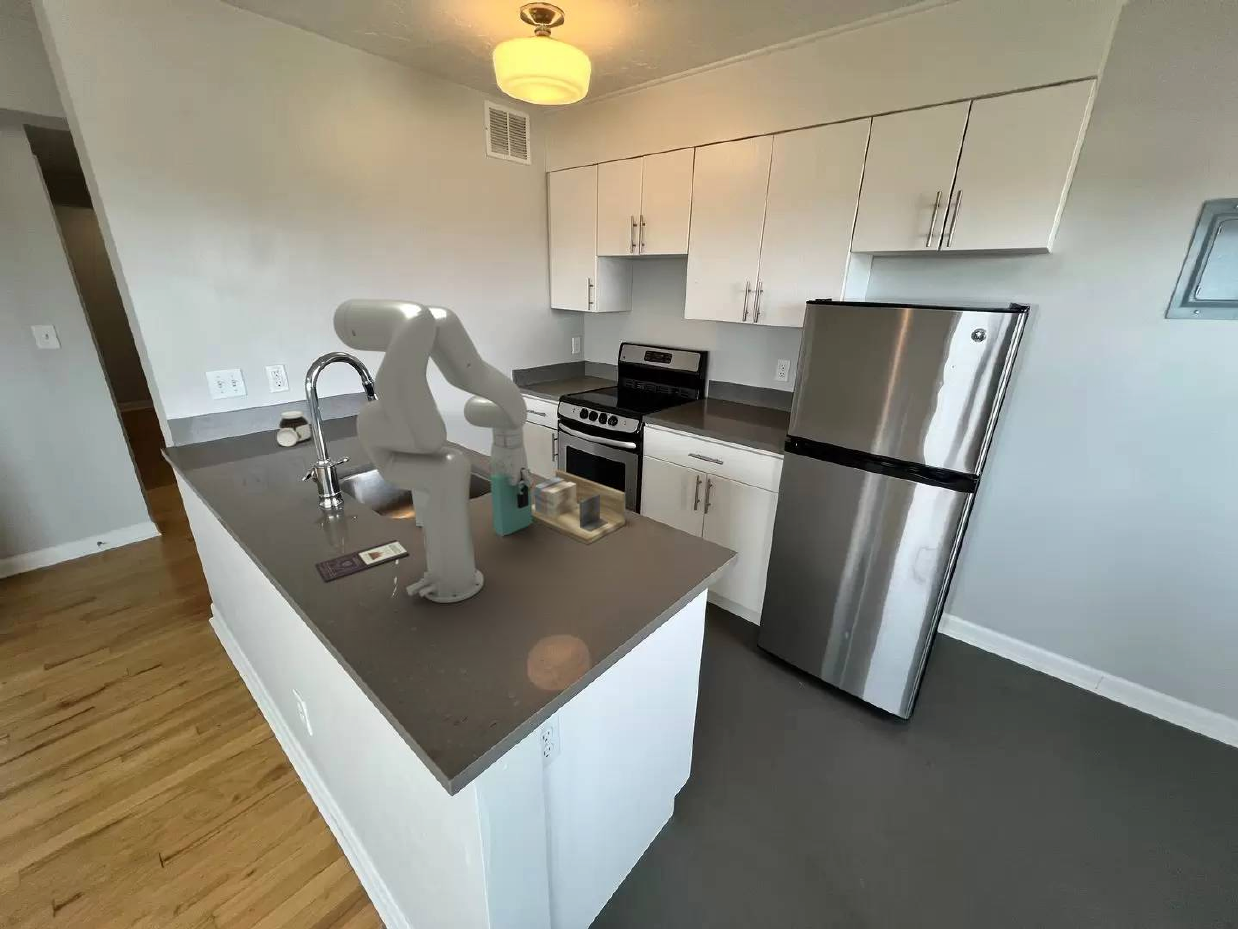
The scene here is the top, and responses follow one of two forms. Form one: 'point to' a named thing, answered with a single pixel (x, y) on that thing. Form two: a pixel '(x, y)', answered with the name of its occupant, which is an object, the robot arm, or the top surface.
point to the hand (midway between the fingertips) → (512, 501)
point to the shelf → (578, 507)
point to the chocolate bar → (360, 560)
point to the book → (508, 507)
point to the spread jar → (293, 429)
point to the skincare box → (419, 504)
